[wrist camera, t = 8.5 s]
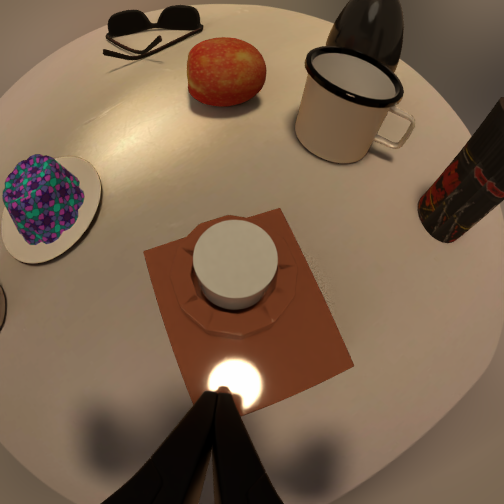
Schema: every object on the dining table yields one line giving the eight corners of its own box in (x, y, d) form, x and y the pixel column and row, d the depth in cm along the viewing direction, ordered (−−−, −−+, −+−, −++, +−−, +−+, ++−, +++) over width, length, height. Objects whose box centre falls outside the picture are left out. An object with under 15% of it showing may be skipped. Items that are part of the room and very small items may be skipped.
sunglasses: (78, 79, 34) (70, 52, 29) (110, 34, 40) (106, 12, 35) (191, 68, 35) (189, 37, 31) (204, 26, 41) (204, 2, 36)
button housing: (333, 369, 22) (366, 363, 16) (207, 420, 20) (200, 434, 14) (272, 234, 26) (284, 193, 21) (155, 272, 24) (136, 238, 18)
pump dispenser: (365, 58, 41) (392, -18, 27) (399, 97, 37) (439, 13, 23) (309, 54, 39) (329, -33, 25) (338, 95, 35) (372, -7, 21)
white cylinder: (283, 294, 18) (291, 280, 16) (211, 320, 17) (209, 310, 15) (255, 231, 20) (258, 209, 17) (187, 252, 19) (182, 233, 16)
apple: (189, 82, 34) (186, 27, 27) (256, 79, 35) (262, 26, 27) (187, 123, 31) (181, 61, 23) (265, 119, 32) (274, 59, 24)
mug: (277, 148, 30) (293, 75, 22) (302, 98, 34) (317, 36, 26) (388, 192, 29) (430, 132, 21) (394, 136, 33) (425, 81, 25)
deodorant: (450, 253, 27) (551, 168, 13) (409, 215, 28) (496, 110, 14) (465, 219, 29) (548, 137, 15) (428, 184, 30) (501, 89, 16)
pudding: (8, 284, 22) (-25, 263, 17) (5, 189, 26) (-17, 161, 21) (114, 236, 25) (93, 203, 20) (94, 145, 29) (80, 110, 24)
